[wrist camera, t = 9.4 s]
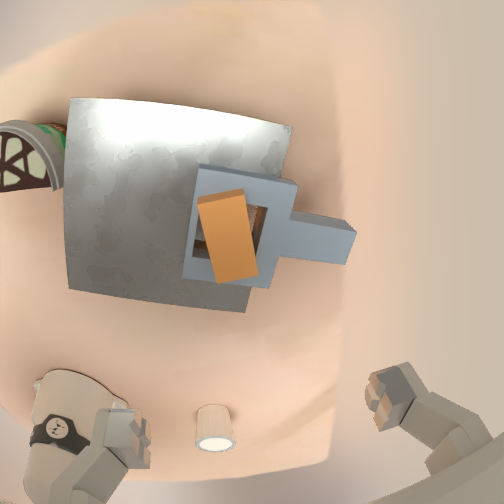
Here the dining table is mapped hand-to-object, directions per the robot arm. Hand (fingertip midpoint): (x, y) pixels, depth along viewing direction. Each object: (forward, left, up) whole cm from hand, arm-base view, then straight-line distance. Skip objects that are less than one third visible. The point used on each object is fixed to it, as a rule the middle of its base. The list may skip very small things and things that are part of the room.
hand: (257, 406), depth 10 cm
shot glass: (-40, -5, -26) cm, 48 cm away
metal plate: (0, +5, -26) cm, 26 cm away
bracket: (0, -4, -17) cm, 17 cm away
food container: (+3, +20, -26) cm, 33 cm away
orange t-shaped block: (0, 0, -21) cm, 21 cm away
